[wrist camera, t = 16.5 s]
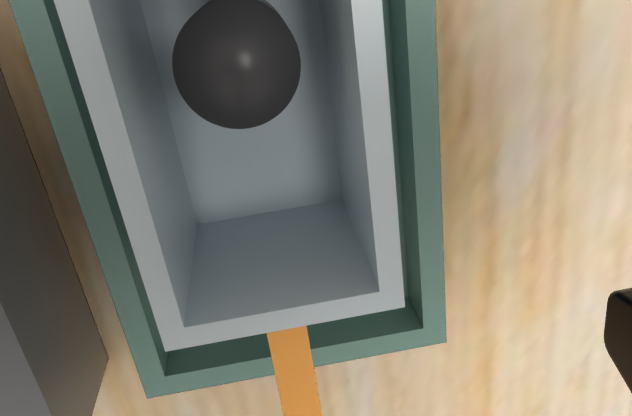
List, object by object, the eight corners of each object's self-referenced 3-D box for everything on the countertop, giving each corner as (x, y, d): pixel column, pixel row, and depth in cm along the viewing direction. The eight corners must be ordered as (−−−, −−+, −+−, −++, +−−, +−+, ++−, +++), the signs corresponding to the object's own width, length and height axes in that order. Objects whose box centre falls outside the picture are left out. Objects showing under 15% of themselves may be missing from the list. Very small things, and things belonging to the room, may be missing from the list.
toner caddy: (367, 282, 21) (412, 401, 16) (204, 311, 21) (194, 444, 16) (326, -88, 16) (374, -97, 10) (106, -56, 15) (38, -48, 10)
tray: (425, 301, 23) (446, 342, 20) (156, 350, 22) (146, 398, 20) (402, -144, 16) (429, -156, 14) (13, -90, 15) (-25, -93, 13)
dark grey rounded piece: (293, 87, 17) (306, 121, 13) (198, 99, 17) (184, 135, 13) (282, -14, 16) (294, -8, 12) (180, -4, 16) (160, 6, 12)
